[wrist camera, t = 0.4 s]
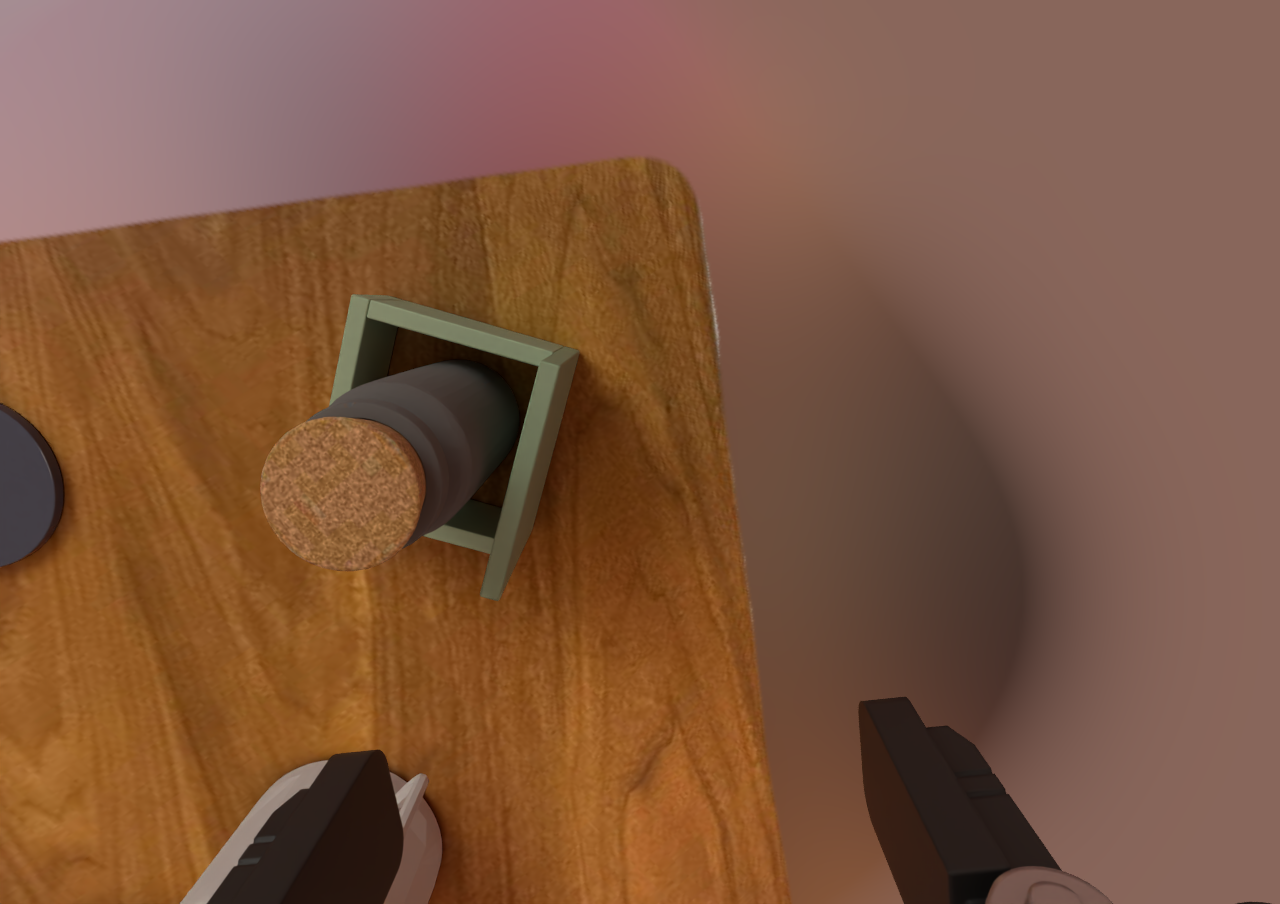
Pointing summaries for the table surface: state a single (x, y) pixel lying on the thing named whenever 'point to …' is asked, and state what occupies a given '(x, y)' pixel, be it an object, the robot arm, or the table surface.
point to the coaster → (26, 488)
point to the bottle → (387, 463)
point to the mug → (416, 816)
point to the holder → (513, 523)
